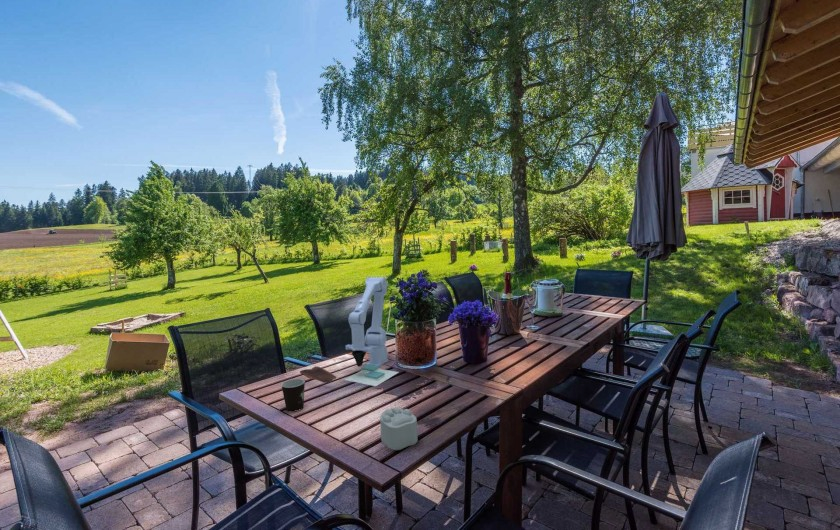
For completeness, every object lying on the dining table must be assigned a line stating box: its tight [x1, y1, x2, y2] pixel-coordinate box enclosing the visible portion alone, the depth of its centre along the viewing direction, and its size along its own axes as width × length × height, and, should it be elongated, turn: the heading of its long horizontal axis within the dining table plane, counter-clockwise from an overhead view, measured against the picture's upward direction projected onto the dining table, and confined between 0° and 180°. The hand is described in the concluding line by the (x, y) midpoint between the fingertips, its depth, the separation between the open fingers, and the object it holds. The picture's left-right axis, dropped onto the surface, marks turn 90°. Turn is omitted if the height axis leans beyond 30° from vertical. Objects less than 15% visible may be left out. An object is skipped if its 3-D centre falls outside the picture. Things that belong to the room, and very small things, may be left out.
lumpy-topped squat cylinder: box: [379, 407, 419, 451], centre depth 125 cm, size 10×13×9 cm
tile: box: [364, 371, 385, 381], centre depth 177 cm, size 6×2×7 cm
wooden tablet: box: [299, 366, 337, 384], centre depth 183 cm, size 26×2×10 cm
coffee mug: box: [281, 378, 306, 412], centre depth 151 cm, size 12×9×10 cm
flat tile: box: [360, 364, 382, 372], centre depth 187 cm, size 6×7×2 cm
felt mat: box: [343, 368, 399, 387], centre depth 179 cm, size 18×18×1 cm
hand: (359, 365), depth 181 cm, fingers closed
